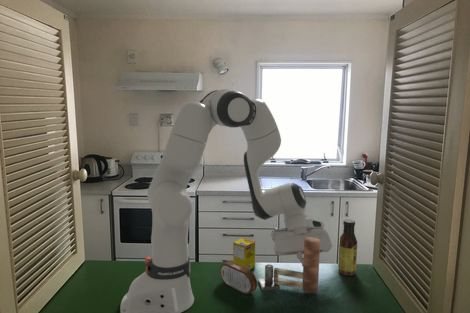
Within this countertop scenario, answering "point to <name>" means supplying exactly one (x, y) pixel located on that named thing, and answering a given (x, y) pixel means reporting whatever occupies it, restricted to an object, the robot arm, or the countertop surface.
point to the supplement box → (244, 253)
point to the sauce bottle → (348, 249)
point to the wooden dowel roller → (309, 269)
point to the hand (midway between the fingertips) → (307, 265)
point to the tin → (238, 277)
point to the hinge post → (268, 280)
